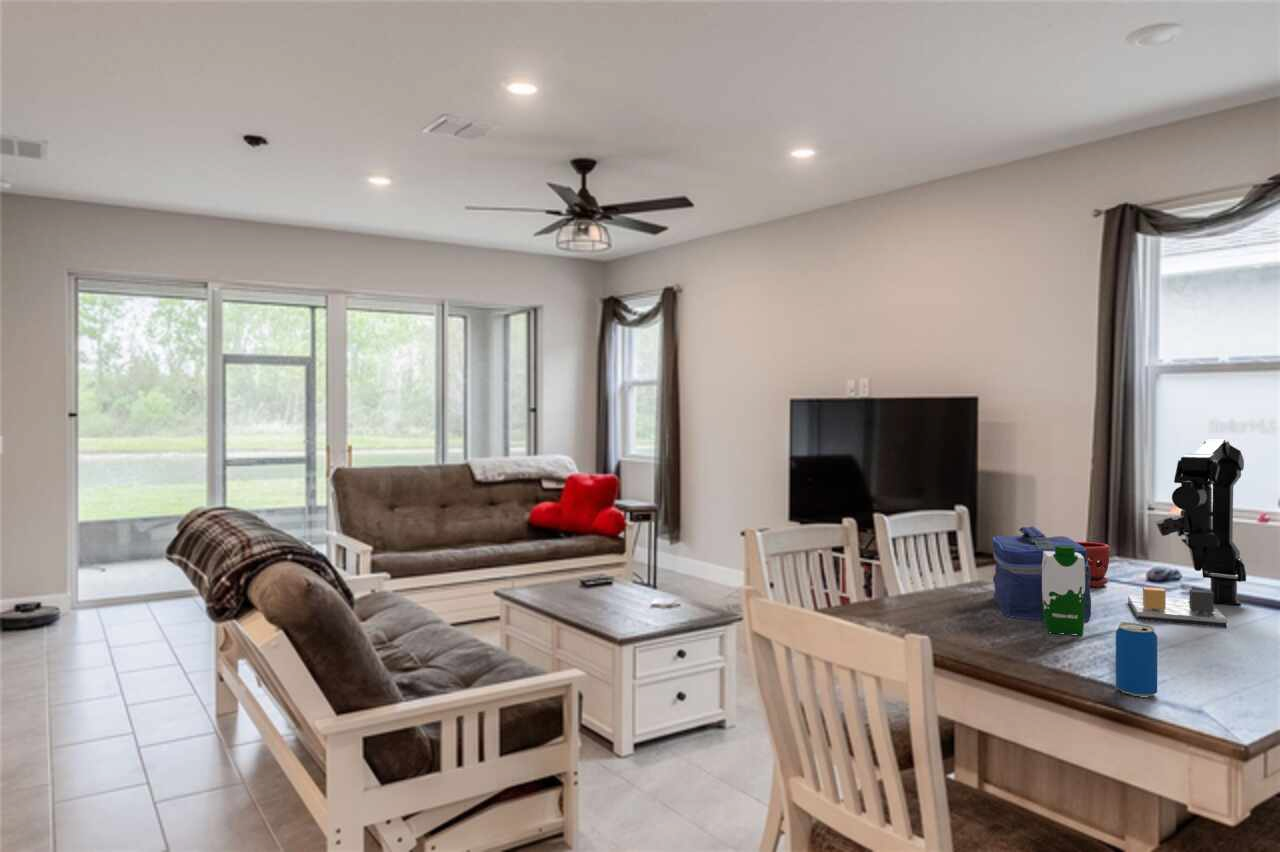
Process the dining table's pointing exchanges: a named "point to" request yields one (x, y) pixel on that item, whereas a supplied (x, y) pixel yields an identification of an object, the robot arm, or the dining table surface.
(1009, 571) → the lunch bag
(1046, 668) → the dining table surface
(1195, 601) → the black fader
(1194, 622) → the panel
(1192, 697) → the dining table surface
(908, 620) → the dining table surface
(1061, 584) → the milk carton
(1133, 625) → the beverage can
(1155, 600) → the orange fader
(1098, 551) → the plant pot
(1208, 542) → the robot arm
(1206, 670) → the dining table surface
